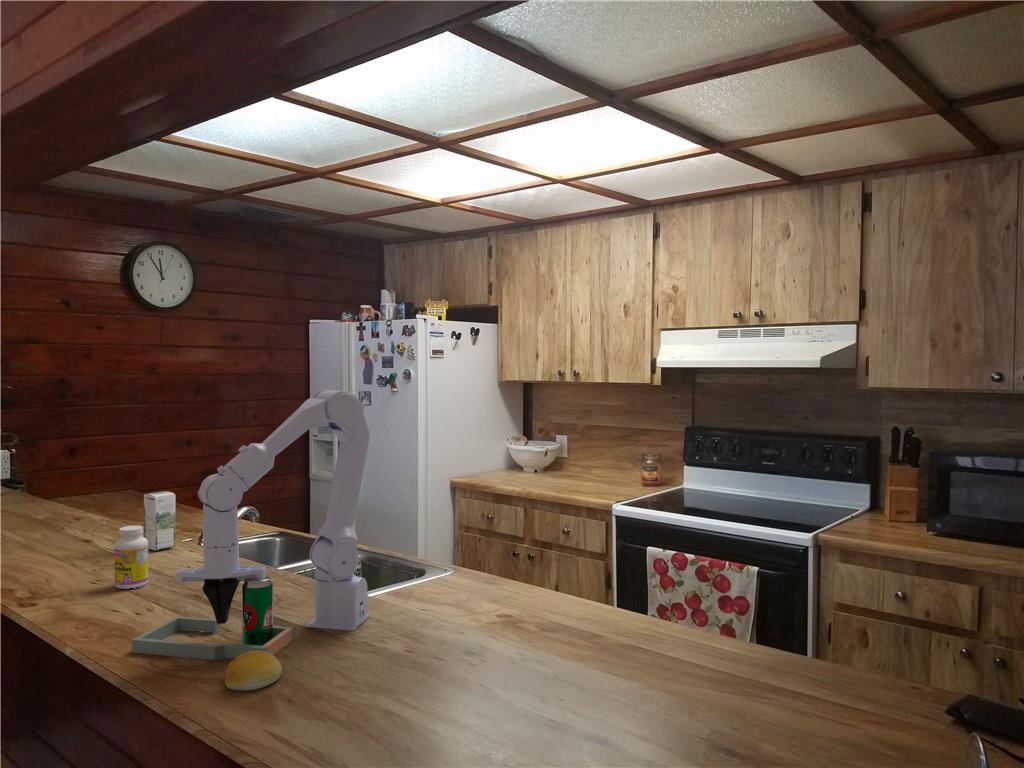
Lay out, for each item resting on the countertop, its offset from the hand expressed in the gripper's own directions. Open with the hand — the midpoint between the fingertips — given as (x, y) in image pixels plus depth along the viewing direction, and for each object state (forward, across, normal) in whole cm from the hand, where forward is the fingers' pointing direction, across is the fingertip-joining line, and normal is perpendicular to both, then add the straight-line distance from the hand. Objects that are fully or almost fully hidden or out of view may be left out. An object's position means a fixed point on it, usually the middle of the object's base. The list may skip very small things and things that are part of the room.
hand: (222, 621), depth 129 cm
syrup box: (+5, +36, -73) cm, 81 cm away
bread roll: (+5, -12, +17) cm, 21 cm away
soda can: (+5, -6, +1) cm, 8 cm away
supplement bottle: (+5, +30, -38) cm, 49 cm away
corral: (+4, +1, 0) cm, 5 cm away
